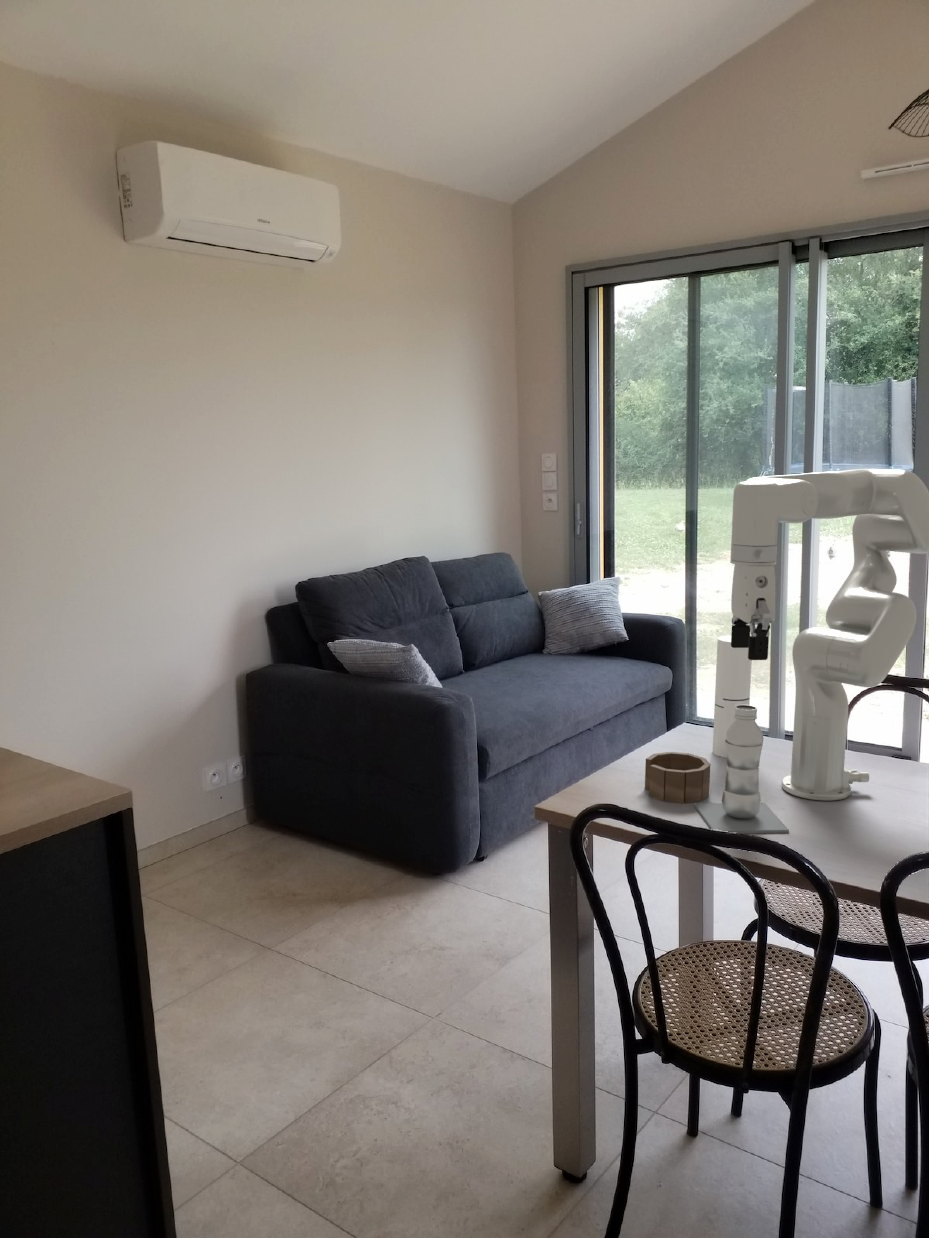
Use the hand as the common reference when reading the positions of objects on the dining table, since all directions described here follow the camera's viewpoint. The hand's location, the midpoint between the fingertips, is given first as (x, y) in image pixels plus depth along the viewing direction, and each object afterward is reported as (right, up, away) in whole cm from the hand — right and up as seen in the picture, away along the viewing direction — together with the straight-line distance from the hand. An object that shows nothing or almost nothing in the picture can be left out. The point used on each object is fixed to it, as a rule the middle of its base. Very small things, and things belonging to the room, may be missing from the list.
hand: (748, 653), depth 173 cm
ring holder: (-8, -27, +19) cm, 34 cm away
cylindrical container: (+8, -23, +42) cm, 49 cm away
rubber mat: (0, -30, +5) cm, 30 cm away
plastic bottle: (0, -29, +5) cm, 30 cm away
